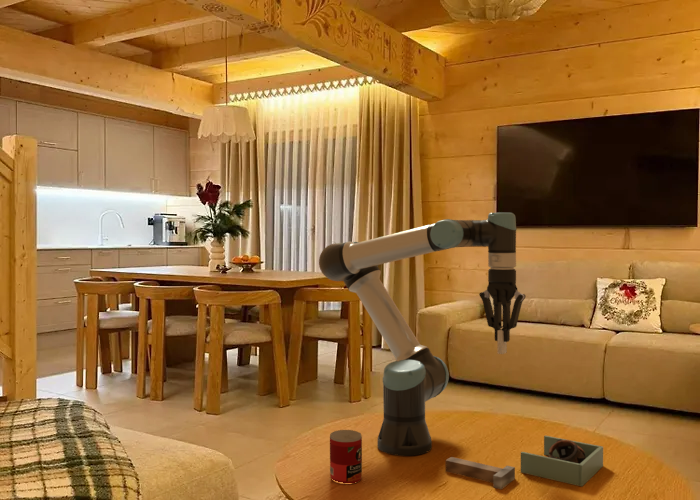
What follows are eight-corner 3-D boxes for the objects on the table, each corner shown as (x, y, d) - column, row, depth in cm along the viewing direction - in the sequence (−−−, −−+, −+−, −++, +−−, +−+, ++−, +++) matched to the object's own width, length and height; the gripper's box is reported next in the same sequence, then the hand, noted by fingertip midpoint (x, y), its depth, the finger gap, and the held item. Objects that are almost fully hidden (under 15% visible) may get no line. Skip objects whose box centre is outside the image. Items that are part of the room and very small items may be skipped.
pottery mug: (598, 476, 161) (588, 451, 158) (564, 493, 161) (553, 468, 158) (576, 448, 172) (566, 424, 170) (544, 464, 172) (534, 440, 170)
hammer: (440, 475, 161) (440, 463, 161) (455, 465, 168) (455, 454, 168) (501, 490, 152) (501, 477, 152) (514, 479, 158) (514, 467, 158)
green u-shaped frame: (520, 472, 162) (520, 452, 162) (545, 453, 175) (545, 435, 175) (582, 486, 153) (582, 465, 153) (603, 465, 166) (603, 446, 166)
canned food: (351, 487, 154) (351, 441, 153) (323, 480, 158) (323, 436, 157) (368, 476, 160) (367, 432, 160) (340, 470, 164) (340, 427, 164)
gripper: (474, 268, 181) (474, 352, 181) (519, 269, 173) (519, 357, 173) (486, 266, 186) (486, 348, 187) (530, 268, 179) (529, 353, 179)
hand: (502, 353), depth 180 cm, fingers closed
